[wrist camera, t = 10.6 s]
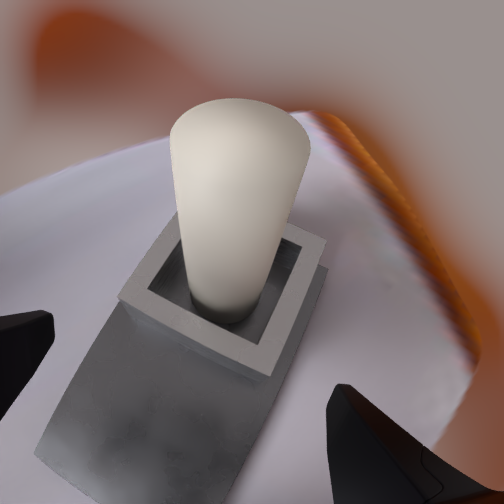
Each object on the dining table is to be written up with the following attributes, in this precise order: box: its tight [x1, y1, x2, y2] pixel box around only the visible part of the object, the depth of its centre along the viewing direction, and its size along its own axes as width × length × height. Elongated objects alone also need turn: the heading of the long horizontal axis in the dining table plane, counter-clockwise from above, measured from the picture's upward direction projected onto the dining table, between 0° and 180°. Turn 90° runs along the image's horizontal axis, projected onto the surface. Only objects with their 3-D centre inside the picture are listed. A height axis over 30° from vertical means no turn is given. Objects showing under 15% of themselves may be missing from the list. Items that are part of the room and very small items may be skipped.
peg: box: [170, 98, 311, 324], centre depth 15 cm, size 4×4×12 cm
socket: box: [34, 212, 328, 504], centre depth 16 cm, size 20×11×4 cm, turn 155°
